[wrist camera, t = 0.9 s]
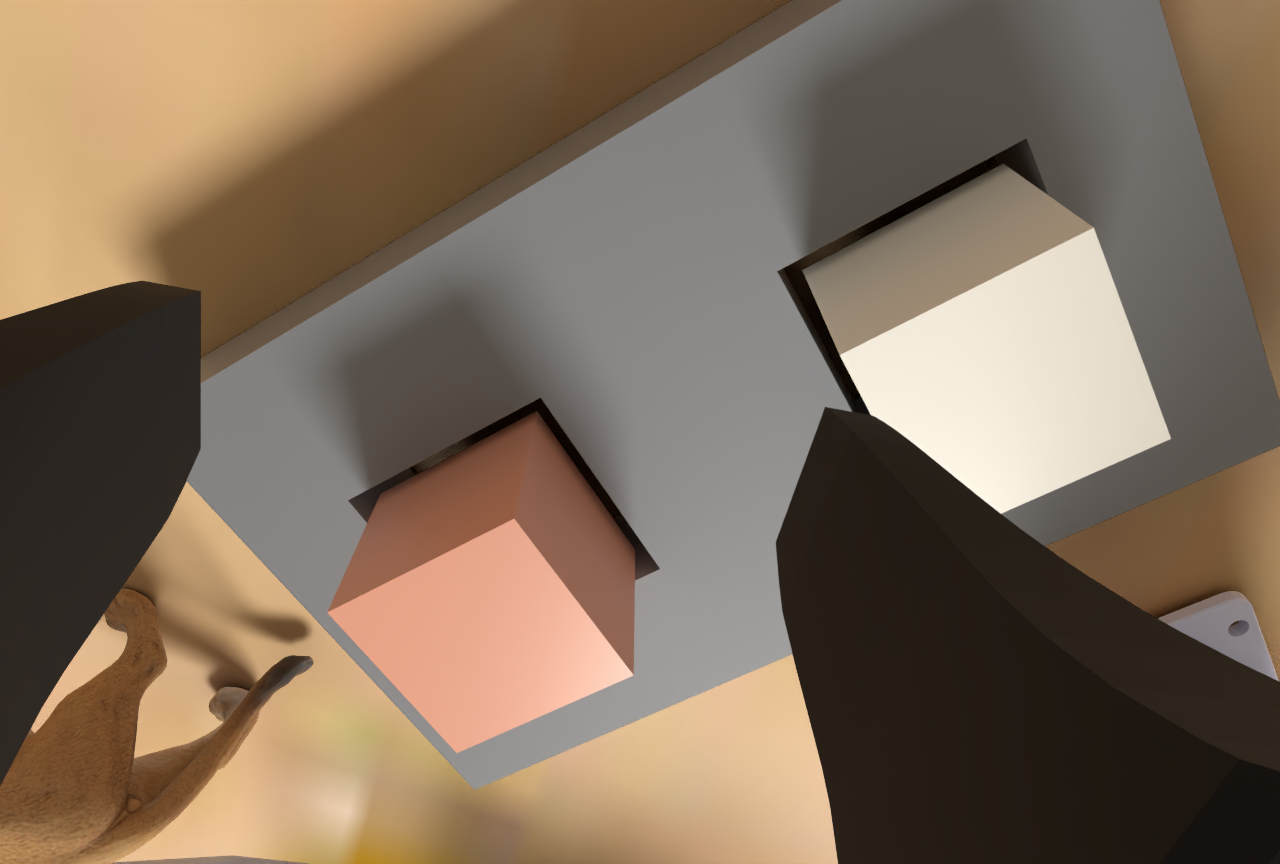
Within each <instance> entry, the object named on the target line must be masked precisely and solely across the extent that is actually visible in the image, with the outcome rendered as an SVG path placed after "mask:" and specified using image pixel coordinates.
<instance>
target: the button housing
mask: <svg viewBox="0 0 1280 864" xmlns="http://www.w3.org/2000/svg"><path fill="white" fill-rule="evenodd" d="M992 156H994V157H995V159H996V162H997V164H998V166H999V165H1001V164H1005V165H1006V166H1007V167H1009V168H1010V169H1012V170H1013V171H1015V172H1016V173H1017V174H1019V175H1020V176H1022V177H1023V178H1024V179H1026V180H1027V181H1029V182H1030V183H1032V184H1033V185H1034V186H1036V187H1037V188H1039V189H1040V190H1041V191H1043V192H1044V193H1046V194H1047V195H1048V196H1050V197H1051V198H1053V199H1054V200H1056V201H1057V202H1058V203H1060V204H1061V205H1063V206H1064V207H1065V208H1067V209H1068V210H1070V211H1071V212H1072V213H1074V214H1075V215H1077V216H1078V217H1080V218H1081V219H1082V220H1084V221H1085V222H1087V223H1088V224H1089V225H1091V226H1092V227H1094V229H1095V232H1096V235H1097V238H1098V240H1099V243H1100V246H1101V249H1102V251H1103V254H1104V257H1105V260H1106V262H1107V265H1108V268H1109V270H1110V273H1111V276H1112V279H1113V281H1114V284H1115V287H1116V290H1117V292H1118V295H1119V298H1120V301H1121V303H1122V306H1123V309H1124V311H1125V314H1126V317H1127V320H1128V322H1129V325H1130V328H1131V331H1132V333H1133V336H1134V339H1135V341H1136V344H1137V347H1138V350H1139V352H1140V355H1141V358H1142V361H1143V363H1144V366H1145V369H1146V372H1147V374H1148V377H1149V380H1150V382H1151V385H1152V388H1153V391H1154V393H1155V396H1156V399H1157V402H1158V404H1159V407H1160V410H1161V413H1162V415H1163V418H1164V421H1165V423H1166V426H1167V429H1168V432H1169V434H1170V437H1171V439H1170V440H1167V441H1165V442H1163V443H1160V444H1158V445H1156V446H1154V447H1151V448H1149V449H1147V450H1145V451H1142V452H1140V453H1138V454H1135V455H1133V456H1131V457H1129V458H1126V459H1124V460H1122V461H1120V462H1117V463H1115V464H1113V465H1110V466H1108V467H1106V468H1104V469H1101V470H1099V471H1097V472H1095V473H1092V474H1090V475H1088V476H1085V477H1083V478H1081V479H1079V480H1076V481H1074V482H1072V483H1070V484H1067V485H1065V486H1063V487H1060V488H1058V489H1056V490H1054V491H1051V492H1049V493H1047V494H1045V495H1042V496H1040V497H1038V498H1035V499H1033V500H1031V501H1029V502H1026V503H1024V504H1022V505H1020V506H1017V507H1015V508H1013V509H1011V510H1008V511H1006V512H1004V513H1001V514H1002V515H1003V516H1004V517H1006V518H1007V519H1008V520H1010V521H1011V522H1012V523H1014V524H1015V525H1016V526H1017V527H1019V528H1020V529H1022V530H1023V531H1024V532H1026V533H1027V534H1028V535H1030V536H1031V537H1033V538H1034V539H1035V540H1037V541H1038V542H1039V543H1041V544H1042V545H1044V546H1047V545H1049V544H1051V543H1054V542H1056V541H1058V540H1061V539H1063V538H1065V537H1068V536H1070V535H1072V534H1075V533H1077V532H1079V531H1082V530H1084V529H1086V528H1089V527H1091V526H1093V525H1096V524H1098V523H1101V522H1103V521H1105V520H1108V519H1110V518H1112V517H1115V516H1117V515H1119V514H1122V513H1124V512H1126V511H1129V510H1131V509H1133V508H1136V507H1138V506H1140V505H1143V504H1145V503H1147V502H1150V501H1152V500H1154V499H1157V498H1159V497H1161V496H1164V495H1166V494H1168V493H1171V492H1173V491H1175V490H1178V489H1180V488H1182V487H1185V486H1187V485H1190V484H1192V483H1194V482H1197V481H1199V480H1201V479H1204V478H1206V477H1208V476H1211V475H1213V474H1215V473H1218V472H1220V471H1222V470H1225V469H1227V468H1229V467H1232V466H1234V465H1236V464H1239V463H1241V462H1243V461H1246V460H1248V459H1250V458H1253V457H1255V456H1257V455H1260V454H1262V453H1264V452H1267V451H1269V450H1271V449H1274V448H1276V447H1278V446H1280V401H1279V398H1278V394H1277V391H1276V388H1275V384H1274V381H1273V378H1272V374H1271V371H1270V368H1269V364H1268V361H1267V358H1266V354H1265V351H1264V348H1263V344H1262V341H1261V338H1260V334H1259V331H1258V328H1257V324H1256V321H1255V318H1254V314H1253V311H1252V308H1251V304H1250V301H1249V298H1248V294H1247V291H1246V288H1245V284H1244V281H1243V278H1242V274H1241V271H1240V268H1239V264H1238V261H1237V258H1236V254H1235V251H1234V248H1233V244H1232V241H1231V238H1230V234H1229V231H1228V228H1227V224H1226V221H1225V218H1224V214H1223V211H1222V208H1221V204H1220V201H1219V198H1218V194H1217V191H1216V188H1215V184H1214V181H1213V178H1212V174H1211V171H1210V168H1209V164H1208V161H1207V158H1206V154H1205V151H1204V148H1203V144H1202V141H1201V138H1200V134H1199V131H1198V128H1197V124H1196V121H1195V118H1194V114H1193V111H1192V108H1191V104H1190V101H1189V98H1188V94H1187V91H1186V88H1185V84H1184V81H1183V78H1182V74H1181V71H1180V68H1179V64H1178V61H1177V58H1176V54H1175V51H1174V48H1173V44H1172V41H1171V38H1170V34H1169V31H1168V28H1167V24H1166V21H1165V18H1164V14H1163V11H1162V8H1161V4H1160V1H1159V0H791V1H790V2H788V3H786V4H785V5H783V6H781V7H780V8H778V9H777V10H775V11H773V12H772V13H770V14H768V15H767V16H765V17H763V18H762V19H760V20H758V21H757V22H755V23H753V24H752V25H750V26H748V27H747V28H745V29H744V30H742V31H740V32H739V33H737V34H735V35H734V36H732V37H730V38H729V39H727V40H725V41H724V42H722V43H720V44H719V45H717V46H715V47H714V48H712V49H710V50H709V51H707V52H706V53H704V54H702V55H701V56H699V57H697V58H696V59H694V60H692V61H691V62H689V63H687V64H686V65H684V66H682V67H681V68H679V69H677V70H676V71H674V72H673V73H671V74H669V75H668V76H666V77H664V78H663V79H661V80H659V81H658V82H656V83H654V84H653V85H651V86H649V87H648V88H646V89H644V90H643V91H641V92H639V93H638V94H636V95H635V96H633V97H631V98H630V99H628V100H626V101H625V102H623V103H621V104H620V105H618V106H616V107H615V108H613V109H611V110H610V111H608V112H606V113H605V114H603V115H602V116H600V117H598V118H597V119H595V120H593V121H592V122H590V123H588V124H587V125H585V126H583V127H582V128H580V129H578V130H577V131H575V132H573V133H572V134H570V135H568V136H567V137H565V138H564V139H562V140H560V141H559V142H557V143H555V144H554V145H552V146H550V147H549V148H547V149H545V150H544V151H542V152H540V153H539V154H537V155H535V156H534V157H532V158H530V159H529V160H527V161H526V162H524V163H522V164H521V165H519V166H517V167H516V168H514V169H512V170H511V171H509V172H507V173H506V174H504V175H502V176H501V177H499V178H497V179H496V180H494V181H493V182H491V183H489V184H488V185H486V186H484V187H483V188H481V189H479V190H478V191H476V192H474V193H473V194H471V195H469V196H468V197H466V198H464V199H463V200H461V201H459V202H458V203H456V204H455V205H453V206H451V207H450V208H448V209H446V210H445V211H443V212H441V213H440V214H438V215H436V216H435V217H433V218H431V219H430V220H428V221H426V222H425V223H423V224H422V225H420V226H418V227H417V228H415V229H413V230H412V231H410V232H408V233H407V234H405V235H403V236H402V237H400V238H398V239H397V240H395V241H393V242H392V243H390V244H388V245H387V246H385V247H384V248H382V249H380V250H379V251H377V252H375V253H374V254H372V255H370V256H369V257H367V258H365V259H364V260H362V261H360V262H359V263H357V264H355V265H354V266H352V267H351V268H349V269H347V270H346V271H344V272H342V273H341V274H339V275H337V276H336V277H334V278H332V279H331V280H329V281H327V282H326V283H324V284H322V285H321V286H319V287H317V288H316V289H314V290H313V291H311V292H309V293H308V294H306V295H304V296H303V297H301V298H299V299H298V300H296V301H294V302H293V303H291V304H289V305H288V306H286V307H284V308H283V309H281V310H280V311H278V312H276V313H275V314H273V315H271V316H270V317H268V318H266V319H265V320H263V321H261V322H260V323H258V324H256V325H255V326H253V327H251V328H250V329H248V330H246V331H245V332H243V333H242V334H240V335H238V336H237V337H235V338H233V339H232V340H230V341H228V342H227V343H225V344H223V345H222V346H220V347H218V348H217V349H215V350H213V351H212V352H210V353H209V354H207V355H205V356H204V357H202V358H201V449H200V452H199V454H198V456H197V458H196V461H195V463H194V465H193V467H192V469H191V472H190V474H189V476H188V478H187V482H188V483H189V484H190V485H191V486H192V487H193V488H194V490H195V491H196V492H197V493H198V494H199V495H200V496H201V497H202V498H203V499H204V500H205V501H206V502H207V503H208V505H209V506H210V507H211V508H212V509H213V510H214V511H215V512H216V513H217V514H218V515H219V516H220V517H221V518H222V520H223V521H224V522H225V523H226V524H227V525H228V526H229V527H230V528H231V529H232V530H233V531H234V532H235V533H236V535H237V536H238V537H239V538H240V539H241V540H242V541H243V542H244V543H245V544H246V545H247V546H248V547H249V549H250V550H251V551H252V552H253V553H254V554H255V555H256V556H257V557H258V558H259V559H260V560H261V561H262V562H263V564H264V565H265V566H266V567H267V568H268V569H269V570H270V571H271V572H272V573H273V574H274V575H275V576H276V577H277V579H278V580H279V581H280V582H281V583H282V584H283V585H284V586H285V587H286V588H287V589H288V590H289V591H290V592H291V594H292V595H293V596H294V597H295V598H296V599H297V600H298V601H299V602H300V603H301V604H302V605H303V606H304V608H305V609H306V610H307V611H308V612H309V613H310V614H311V615H312V616H313V617H314V618H315V619H316V620H317V621H318V623H319V624H320V625H321V626H322V627H323V628H324V629H325V630H326V631H327V632H328V633H329V634H330V635H331V636H332V638H333V639H334V640H335V641H336V642H337V643H338V644H339V645H340V646H341V647H342V648H343V649H344V650H345V651H346V653H347V654H348V655H349V656H350V657H351V658H352V659H353V660H354V661H355V662H356V663H357V664H358V665H359V667H360V668H361V669H362V670H363V671H364V672H365V673H366V674H367V675H368V676H369V677H370V678H371V679H372V680H373V682H374V683H375V684H376V685H377V686H378V687H379V688H380V689H381V690H382V691H383V692H384V693H385V694H386V695H387V697H388V698H389V699H390V700H391V701H392V702H393V703H394V704H395V705H396V706H397V707H398V708H399V709H400V710H401V712H402V713H403V714H404V715H405V716H406V717H407V718H408V719H409V720H410V721H411V722H412V723H413V724H414V726H415V727H416V728H417V729H418V730H419V731H420V732H421V733H422V734H423V735H424V736H425V737H426V738H427V739H428V741H429V742H430V743H431V744H432V745H433V746H434V747H435V748H436V749H437V750H438V751H439V752H440V753H441V754H442V756H443V757H444V758H445V759H446V760H447V761H448V762H449V763H450V764H451V765H452V766H453V767H454V768H455V769H456V771H457V772H458V773H459V774H460V775H461V776H462V777H463V778H464V779H465V780H466V781H467V782H468V783H469V785H470V786H471V787H472V788H473V789H474V790H475V789H478V788H480V787H482V786H485V785H487V784H489V783H492V782H494V781H496V780H499V779H501V778H503V777H506V776H508V775H510V774H513V773H515V772H517V771H520V770H522V769H524V768H527V767H529V766H531V765H534V764H536V763H538V762H541V761H543V760H545V759H548V758H550V757H552V756H555V755H557V754H560V753H562V752H564V751H567V750H569V749H571V748H574V747H576V746H578V745H581V744H583V743H585V742H588V741H590V740H592V739H595V738H597V737H599V736H602V735H604V734H606V733H609V732H611V731H613V730H616V729H618V728H620V727H623V726H625V725H627V724H630V723H632V722H634V721H637V720H639V719H641V718H644V717H646V716H648V715H651V714H653V713H656V712H658V711H660V710H663V709H665V708H667V707H670V706H672V705H674V704H677V703H679V702H681V701H684V700H686V699H688V698H691V697H693V696H695V695H698V694H700V693H702V692H705V691H707V690H709V689H712V688H714V687H716V686H719V685H721V684H723V683H726V682H728V681H730V680H733V679H735V678H737V677H740V676H742V675H745V674H747V673H749V672H752V671H754V670H756V669H759V668H761V667H763V666H766V665H768V664H770V663H773V662H775V661H777V660H780V659H782V658H784V657H787V656H789V655H791V654H793V653H792V649H791V645H790V641H789V637H788V633H787V629H786V625H785V621H784V616H783V612H782V605H781V596H780V587H779V578H778V565H777V553H776V540H777V537H778V534H779V532H780V529H781V526H782V523H783V521H784V518H785V515H786V513H787V510H788V507H789V504H790V502H791V499H792V496H793V493H794V491H795V488H796V485H797V482H798V480H799V477H800V474H801V471H802V469H803V466H804V463H805V461H806V458H807V455H808V452H809V450H810V447H811V444H812V441H813V439H814V436H815V433H816V430H817V428H818V425H819V422H820V419H821V417H822V414H823V411H824V409H825V407H829V408H834V409H839V410H845V411H850V412H856V413H861V414H867V415H871V414H870V412H869V410H868V408H867V406H866V404H865V403H864V401H863V399H862V397H860V398H858V399H856V400H853V399H852V397H851V395H850V394H849V392H848V390H847V388H846V386H845V384H844V382H843V380H842V379H841V377H840V375H839V373H838V371H837V369H836V367H835V365H834V363H833V362H832V360H831V358H830V356H829V354H828V352H827V350H826V348H825V346H824V345H823V343H822V341H821V339H820V337H819V335H818V333H817V331H816V330H815V328H814V326H813V324H812V322H811V320H810V318H809V316H808V314H807V313H806V311H805V309H804V307H803V305H802V303H801V301H800V299H799V297H798V296H797V294H796V292H795V290H794V288H793V286H792V284H791V282H790V281H789V279H788V277H787V275H786V273H785V271H784V269H783V268H784V267H786V266H788V265H790V264H792V263H794V262H796V261H798V260H799V259H801V258H803V257H805V256H807V255H809V254H811V253H813V252H814V251H816V250H818V249H820V248H822V247H824V246H826V245H827V244H829V243H831V242H833V241H835V240H837V239H839V238H841V237H842V236H844V235H846V234H848V233H850V232H852V231H854V230H856V229H857V228H859V227H861V226H863V225H865V224H867V223H869V222H871V221H872V220H874V219H876V218H878V217H880V216H882V215H884V214H886V213H887V212H889V211H891V210H893V209H895V208H897V207H899V206H901V205H902V204H904V203H906V202H908V201H910V200H912V199H914V198H916V197H917V196H919V195H921V194H923V193H925V192H927V191H929V190H931V189H932V188H934V187H936V186H938V185H940V184H942V183H944V182H946V181H947V180H949V179H951V178H953V177H955V176H957V175H959V174H961V173H962V172H964V171H966V170H968V169H970V168H972V167H974V166H976V165H977V164H979V163H981V162H983V161H985V160H987V159H989V158H991V157H992ZM539 398H541V399H542V400H543V402H544V403H545V405H546V406H547V408H548V409H549V410H550V412H551V413H552V415H553V416H554V418H555V419H556V421H557V422H558V423H559V425H560V426H561V428H562V429H563V431H564V432H565V433H566V435H567V436H568V438H569V439H570V441H571V442H572V443H573V445H574V446H575V448H576V449H577V451H578V452H579V453H580V455H581V456H582V458H583V459H584V461H585V462H586V463H587V465H588V466H589V468H590V469H591V471H592V472H593V473H594V475H595V476H596V478H597V479H598V481H599V482H600V483H601V485H602V486H603V488H604V489H605V491H606V492H607V493H608V495H609V496H610V498H611V499H612V501H613V502H614V503H615V505H616V506H617V508H618V509H619V511H620V512H621V514H620V515H618V516H616V517H614V518H613V519H614V521H615V522H616V523H617V525H618V526H619V528H620V529H621V531H622V532H623V533H624V535H625V536H626V538H627V539H628V540H629V542H630V543H631V545H632V546H633V548H634V549H635V613H634V675H633V676H631V677H629V678H627V679H624V680H622V681H620V682H618V683H615V684H613V685H611V686H608V687H606V688H604V689H602V690H599V691H597V692H595V693H593V694H590V695H588V696H586V697H583V698H581V699H579V700H577V701H574V702H572V703H570V704H568V705H565V706H563V707H561V708H558V709H556V710H554V711H552V712H549V713H547V714H545V715H543V716H540V717H538V718H536V719H533V720H531V721H529V722H527V723H524V724H522V725H520V726H518V727H515V728H513V729H511V730H509V731H506V732H504V733H502V734H499V735H497V736H495V737H493V738H490V739H488V740H486V741H484V742H481V743H479V744H477V745H474V746H472V747H470V748H468V749H465V750H463V751H461V752H459V753H456V752H455V751H454V750H453V749H452V748H451V746H450V745H449V744H448V743H447V742H446V741H445V740H444V739H443V738H442V737H441V736H440V735H439V733H438V732H437V731H436V730H435V729H434V728H433V727H432V726H431V725H430V724H429V723H428V722H427V720H426V719H425V718H424V717H423V716H422V715H421V714H420V713H419V712H418V711H417V710H416V708H415V707H414V706H413V705H412V704H411V703H410V702H409V701H408V700H407V699H406V698H405V697H404V695H403V694H402V693H401V692H400V691H399V690H398V689H397V688H396V687H395V686H394V685H393V684H392V682H391V681H390V680H389V679H388V678H387V677H386V676H385V675H384V674H383V673H382V672H381V670H380V669H379V668H378V667H377V666H376V665H375V664H374V663H373V662H372V661H371V660H370V659H369V657H368V656H367V655H366V654H365V653H364V652H363V651H362V650H361V649H360V648H359V647H358V646H357V644H356V643H355V642H354V641H353V640H352V639H351V638H350V637H349V636H348V635H347V634H346V632H345V631H344V630H343V629H342V628H341V627H340V626H339V625H338V624H337V623H336V622H335V621H334V619H333V618H332V617H331V616H330V615H329V614H328V613H327V612H328V610H329V607H330V605H331V603H332V601H333V598H334V596H335V594H336V592H337V589H338V587H339V585H340V583H341V581H342V578H343V576H344V574H345V572H346V569H347V567H348V565H349V563H350V561H351V558H352V556H353V554H354V552H355V549H356V547H357V545H358V543H359V541H360V538H361V536H362V534H363V532H364V529H365V527H366V525H367V523H368V520H369V518H370V516H371V514H372V512H373V509H374V507H375V505H376V503H377V500H378V498H379V496H380V494H381V493H383V492H385V491H387V490H389V489H390V488H392V487H394V486H396V485H398V484H400V483H402V482H404V481H406V480H407V479H409V478H411V477H413V476H415V473H414V472H413V471H412V470H411V468H410V467H412V466H413V465H415V464H417V463H419V462H421V461H423V460H425V459H427V458H428V457H430V456H432V455H434V454H436V453H438V452H440V451H442V450H443V449H445V448H447V447H449V446H451V445H453V444H455V443H457V442H458V441H460V440H462V439H464V438H466V437H468V436H470V435H471V434H473V433H475V432H477V431H479V430H481V429H483V428H485V427H486V426H488V425H490V424H492V423H494V422H496V421H498V420H500V419H501V418H503V417H505V416H507V415H509V414H511V413H513V412H515V411H516V410H518V409H520V408H522V407H524V406H526V405H528V404H530V403H531V402H533V401H535V400H537V399H539Z"/></svg>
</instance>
